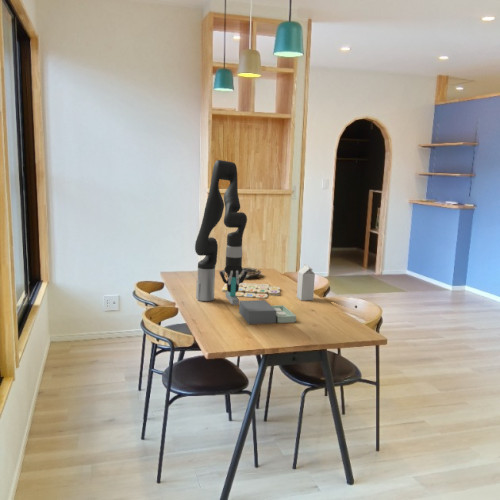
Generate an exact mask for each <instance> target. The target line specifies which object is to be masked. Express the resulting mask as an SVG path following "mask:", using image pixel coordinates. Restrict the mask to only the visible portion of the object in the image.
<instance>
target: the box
mask: <svg viewBox="0 0 500 500" xmlns="http://www.w3.org/2000/svg"><path fill="white" fill-rule="evenodd" d="M271 306H272V307H273V308H280V309H281V310H282V312H285V313H286V314H287V316H278V315H277V314H276V323H277V324H283V323H284V324H285V323H287V324H288V323H296V322H297V315H296V314H294V313H293V312H292V311H291V310H290V309H289V308H287V307H286V306H285V305H284V304H282V305H271Z"/></svg>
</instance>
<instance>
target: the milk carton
mask: <svg viewBox="0 0 500 500" xmlns="http://www.w3.org/2000/svg"><path fill="white" fill-rule="evenodd" d="M315 277H316V273H315V272H313V268H312V267H310V266H309V265H307V264H306V263H305V264H304V266H303V267H301V268H300V269H299V270H298V273H297V284H296V285H297V286H296V298H297V299H298V300H300V301H314V294H315V293H314V292H315Z"/></svg>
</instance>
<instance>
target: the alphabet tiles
mask: <svg viewBox="0 0 500 500" xmlns="http://www.w3.org/2000/svg"><path fill="white" fill-rule="evenodd" d="M221 292H222V293H226V292H228V291H227V284H226V283H224V285H223V287H222V288H221ZM280 293H281V287H279V286H274V285H273V286H270V284H268V283H267V284H266V283H265V284H264V283H260V284H259V283H253V282H252V283H251V282H249V283H247V282H243V283H240V284H239V290H238V291H237V292H236V297H237V298H242V297H243V298H245V299H246V298H249V299H254V298H256V299H260V300H266V299H268V297H269V296H273V297H277V296H280V295H281V294H280Z"/></svg>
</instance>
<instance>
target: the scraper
mask: <svg viewBox="0 0 500 500" xmlns="http://www.w3.org/2000/svg"><path fill="white" fill-rule="evenodd" d="M225 298H226V299H227V300H228V302H229V303H230V304H231V305H232V306H239V302H240V298H239V297H236V277H232V280H231V292H225Z"/></svg>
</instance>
